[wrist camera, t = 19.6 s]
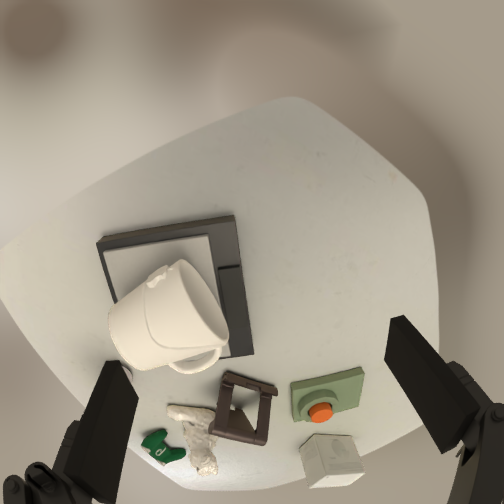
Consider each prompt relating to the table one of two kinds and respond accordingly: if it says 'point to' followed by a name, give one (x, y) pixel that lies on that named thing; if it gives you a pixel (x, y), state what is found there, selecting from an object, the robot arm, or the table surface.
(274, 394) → the tablet stand
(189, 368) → the mug
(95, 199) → the table surface
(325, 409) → the button
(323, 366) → the table surface
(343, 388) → the green button base
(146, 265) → the scale
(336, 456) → the cosmetics box
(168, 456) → the gaming controller
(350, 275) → the table surface
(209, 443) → the white creature statuette
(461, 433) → the robot arm
